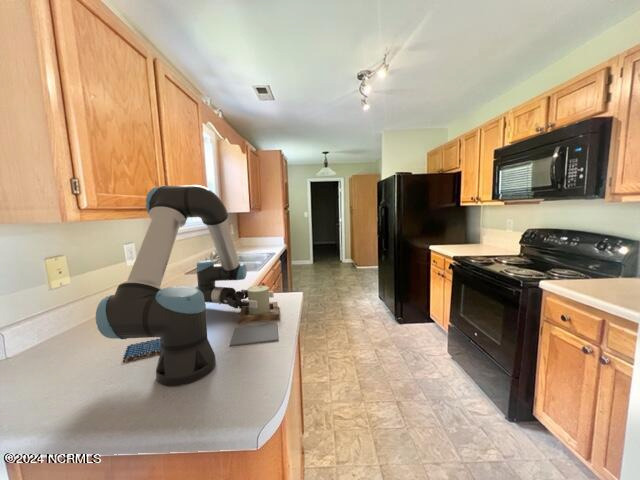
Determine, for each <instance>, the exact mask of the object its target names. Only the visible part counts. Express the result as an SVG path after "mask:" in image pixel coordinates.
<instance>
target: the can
mask: <svg viewBox="0 0 640 480" xmlns="http://www.w3.org/2000/svg"><path fill="white" fill-rule="evenodd" d="M246 290H247V291H248V297H247V300H252V301H257V308H251V307H249V310H248V315H258V314H268V313H271V310H270V309H271V308H270V305H269V302H270V297H269V291H270V287H269V286H267V285H254V286H250V287H248V288H247V289H246Z"/></svg>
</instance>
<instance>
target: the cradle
mask: <svg viewBox="0 0 640 480" xmlns="http://www.w3.org/2000/svg"><path fill="white" fill-rule="evenodd" d="M278 304H279V303H278V301H271V302H270V301H269V305H270V309H272V310H273V312H270V313H268V314H258V315H249V314H248V315H246V314H247V311H248V312H249V307H243V306H242V309H240V311H239V314H238V315H239V316H238V320H237V321H238V324H246V323H247V324H248V323H256V322H266V321H274V320H280V315H279V305H278Z"/></svg>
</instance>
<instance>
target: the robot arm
mask: <svg viewBox="0 0 640 480" xmlns="http://www.w3.org/2000/svg"><path fill="white" fill-rule="evenodd" d="M145 203H146V204H145V209H146V212H147V213H148V216H149V218H150V220H151V221H150V223H149V225H148V228H147V230H146V234H145V236H144V238H143V240H142V242H141V246H140V248H139V250H138V253H137V255H136V258H135V260H134V262H133V265H132V268H131V270H130V272H129V275H128V277H127V279H126V281H123V282H121V283H119V285H118V286H117V288H116V290H115V293H114V294H109V295H108V296H105V297H104V298H102V299H101V300H100V302H99V303H98V305H97V306H96V312H95V324H96V326H97V330H98V331H99V333H100V334H101V336H102V335H103V336H104V337H105V338H108V339H112V340H113V339H116V340H117V339H119V340H127V339H143V338H144V339H145V338H146V339H147V338H159V339H160V340H161V353H159V357H158V361H157V365H156V367H155V368H156V369H155V376H156V381H157V383H158V384H160V385H162V386H165V387H179V386H186V385H189V384H191V383H195V382H198V381H199V380H201V379H203V378H205V377H207V375H209V374H211V373H212V372H213V370H214V369H215V368H216V364H217V360H216V353H215V352H214V349H213V347H212V346H211V343H210V341H209V339H208V338H209V337H208V328H207V327H208V325H207V311H206V308H207V307H206V306H207V305H206V303H211V304H218V305H227V306H230V307H232V308H233V309H238V308H239V310H241V309H242V306H243V307H251V308H257V301H252V300H248V291H247V289H241V290H237V291H236V289H235V288H234V287H229V286H228V287H226V286H216V282H217V281H218V282H219V281H220V282H221V281H222V282H223V281H240V280H241V281H242V280H243V281H244V280H245V279H246V277H247V275H248V274H247V271H248V270H247V265H246V264H245V263H240V260H239V258H238V254H237V251H236V247H235V245H234V244H235V243H234V241H233V237H232V234H231V230H230V227H229V223H228V219H229V214H228V211H227V208H226V206H225V204H224V202H223V201H222V200H221V199H220V198H219V196H218V195H217V194H216V193H215V192H214V191H212V190H211V189H209V188H207V187H205V186H202V185H199V184H191V185H162V186H161V185H160V186H155V187H152V188H151V189H150V190H149V191H148V192H147V195H146V197H145ZM188 218H200V219H201V221H202V223H203V224H204V225H205V226H206V227H207V229H208V231H209V234H210V235H209V236H210V237H211V240H212V243H213V247H214V248H215V251H216V254H217V256H218V260H219V261H220V264H215V262H214V260H212V259H211V260H209V259H206V260H200V261H198V262H197V263H196V279H197V286H195V287H193V286H186V285H184V286H183V285H182V286H181V285H179V286H178V285H177V286H169V287H165V288H161V285H162V282H163V280H164V276H165V273H166V270H167V266H168V263H169V260H170V257H171V254H172V250H173V248H174V245H175V241H176V238H177V236H178V233H179V229H180V228H182V227H184V226H185V225H186V224H187V223H186V222H187V220H188ZM269 298H274V291H273V290H269Z"/></svg>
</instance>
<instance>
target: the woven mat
mask: <svg viewBox="0 0 640 480" xmlns="http://www.w3.org/2000/svg"><path fill="white" fill-rule="evenodd" d="M160 353H161V340H160V338H155V339H151V340H146V341H142V342H138V343H137V342H136V343H133V344H132V343H131V344H129V345H127V346H126V348H125V352H124V355H123V357H122V359H123V360H122V362H123V363H127V362H129V361H130V362H133V360H134V361H136V360H138V359H139V360H140V359H146V358H149V357H151V356H152V357H153V356H154V355H155V356H158V354H160ZM142 357H143V358H142Z"/></svg>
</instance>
